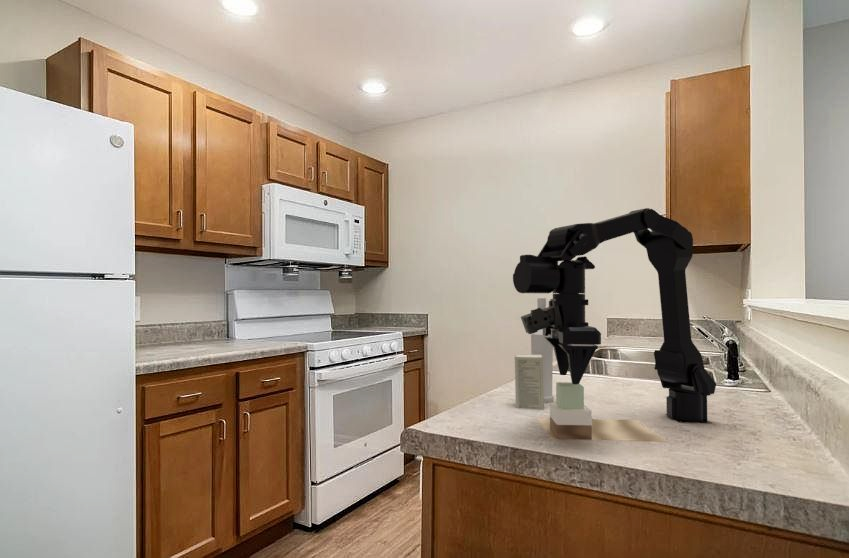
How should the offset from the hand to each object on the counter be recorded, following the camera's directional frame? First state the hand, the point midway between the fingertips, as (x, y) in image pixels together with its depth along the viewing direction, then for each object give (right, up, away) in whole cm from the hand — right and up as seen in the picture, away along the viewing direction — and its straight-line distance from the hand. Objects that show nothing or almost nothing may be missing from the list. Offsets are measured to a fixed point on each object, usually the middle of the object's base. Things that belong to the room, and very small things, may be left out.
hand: (568, 379), depth 87 cm
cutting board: (+6, -11, +3) cm, 13 cm away
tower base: (0, -10, 0) cm, 10 cm away
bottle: (+2, -12, +27) cm, 29 cm away
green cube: (0, -5, 0) cm, 5 cm away
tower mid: (0, -8, 0) cm, 8 cm away
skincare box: (-3, -11, +21) cm, 24 cm away
